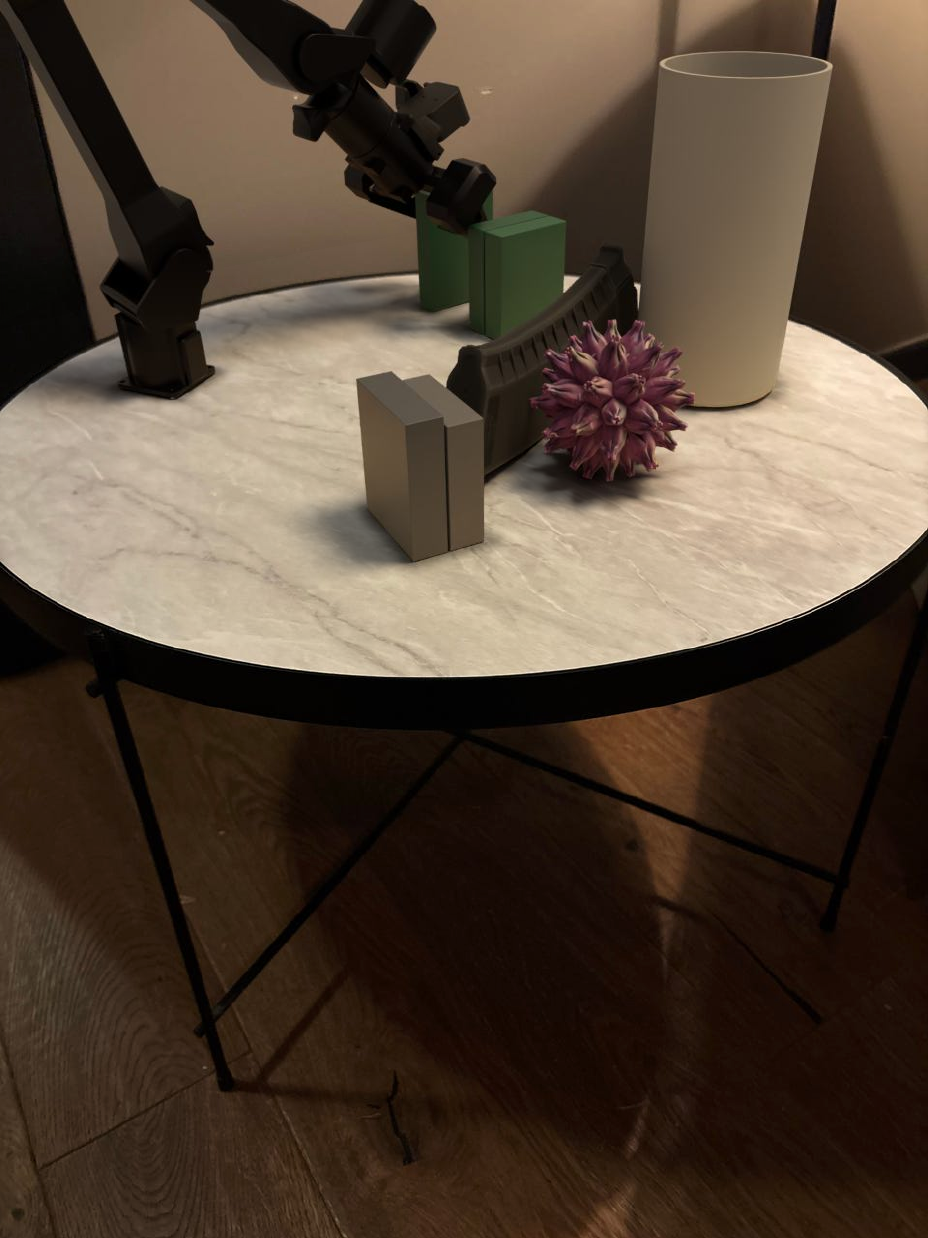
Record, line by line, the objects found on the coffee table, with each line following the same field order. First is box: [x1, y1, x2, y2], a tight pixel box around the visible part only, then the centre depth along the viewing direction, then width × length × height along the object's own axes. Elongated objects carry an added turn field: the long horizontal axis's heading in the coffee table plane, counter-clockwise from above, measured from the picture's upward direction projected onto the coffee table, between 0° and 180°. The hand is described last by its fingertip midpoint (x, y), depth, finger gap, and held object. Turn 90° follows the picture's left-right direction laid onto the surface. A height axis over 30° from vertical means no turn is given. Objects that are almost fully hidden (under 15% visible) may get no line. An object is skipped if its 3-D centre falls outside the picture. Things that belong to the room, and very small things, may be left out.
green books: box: [468, 209, 567, 340], centre depth 99 cm, size 8×5×10 cm, turn 127°
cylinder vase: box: [637, 50, 834, 408], centre depth 83 cm, size 12×12×25 cm
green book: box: [415, 189, 494, 312], centre depth 105 cm, size 8×2×12 cm, turn 127°
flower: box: [529, 319, 695, 482], centre depth 74 cm, size 12×12×12 cm
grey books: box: [355, 370, 485, 563], centre depth 69 cm, size 8×5×10 cm
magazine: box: [445, 242, 639, 477], centre depth 81 cm, size 17×3×30 cm
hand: (464, 231), depth 105 cm, fingers open, 8 cm apart
